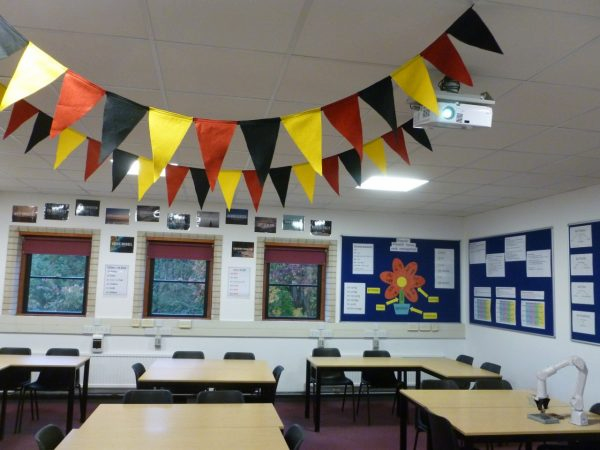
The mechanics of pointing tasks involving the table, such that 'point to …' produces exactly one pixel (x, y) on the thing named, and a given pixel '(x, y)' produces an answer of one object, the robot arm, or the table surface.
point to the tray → (548, 419)
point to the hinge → (531, 400)
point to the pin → (543, 413)
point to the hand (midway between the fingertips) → (542, 409)
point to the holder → (555, 416)
